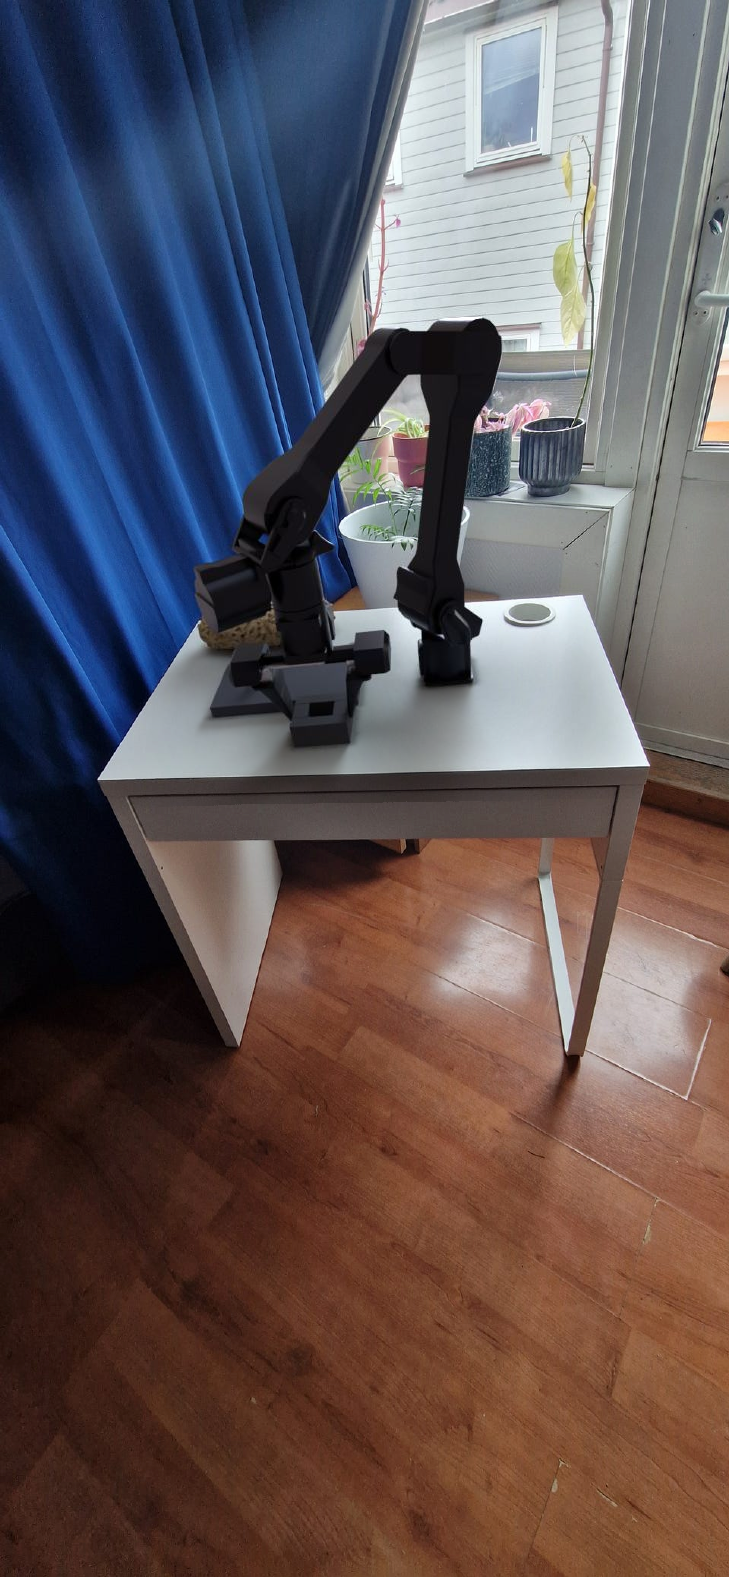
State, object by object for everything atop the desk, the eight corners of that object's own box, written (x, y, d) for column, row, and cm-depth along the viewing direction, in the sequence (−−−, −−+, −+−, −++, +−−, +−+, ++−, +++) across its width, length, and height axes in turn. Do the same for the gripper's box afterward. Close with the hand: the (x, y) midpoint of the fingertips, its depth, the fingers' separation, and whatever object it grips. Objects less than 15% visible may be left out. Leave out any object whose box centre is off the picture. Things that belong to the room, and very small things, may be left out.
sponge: (204, 666, 103) (313, 646, 94) (185, 617, 99) (296, 592, 91) (245, 640, 113) (347, 620, 104) (230, 596, 110) (333, 571, 101)
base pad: (362, 659, 95) (359, 634, 92) (358, 704, 86) (354, 678, 83) (230, 672, 97) (223, 648, 95) (212, 717, 88) (204, 692, 86)
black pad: (353, 711, 85) (350, 691, 83) (350, 742, 79) (346, 722, 77) (301, 715, 86) (296, 696, 84) (294, 747, 80) (289, 727, 78)
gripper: (384, 563, 77) (397, 678, 87) (231, 581, 79) (261, 691, 89) (381, 604, 68) (397, 726, 78) (210, 622, 70) (246, 739, 80)
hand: (323, 718), depth 82 cm, fingers closed on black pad, 7 cm apart
